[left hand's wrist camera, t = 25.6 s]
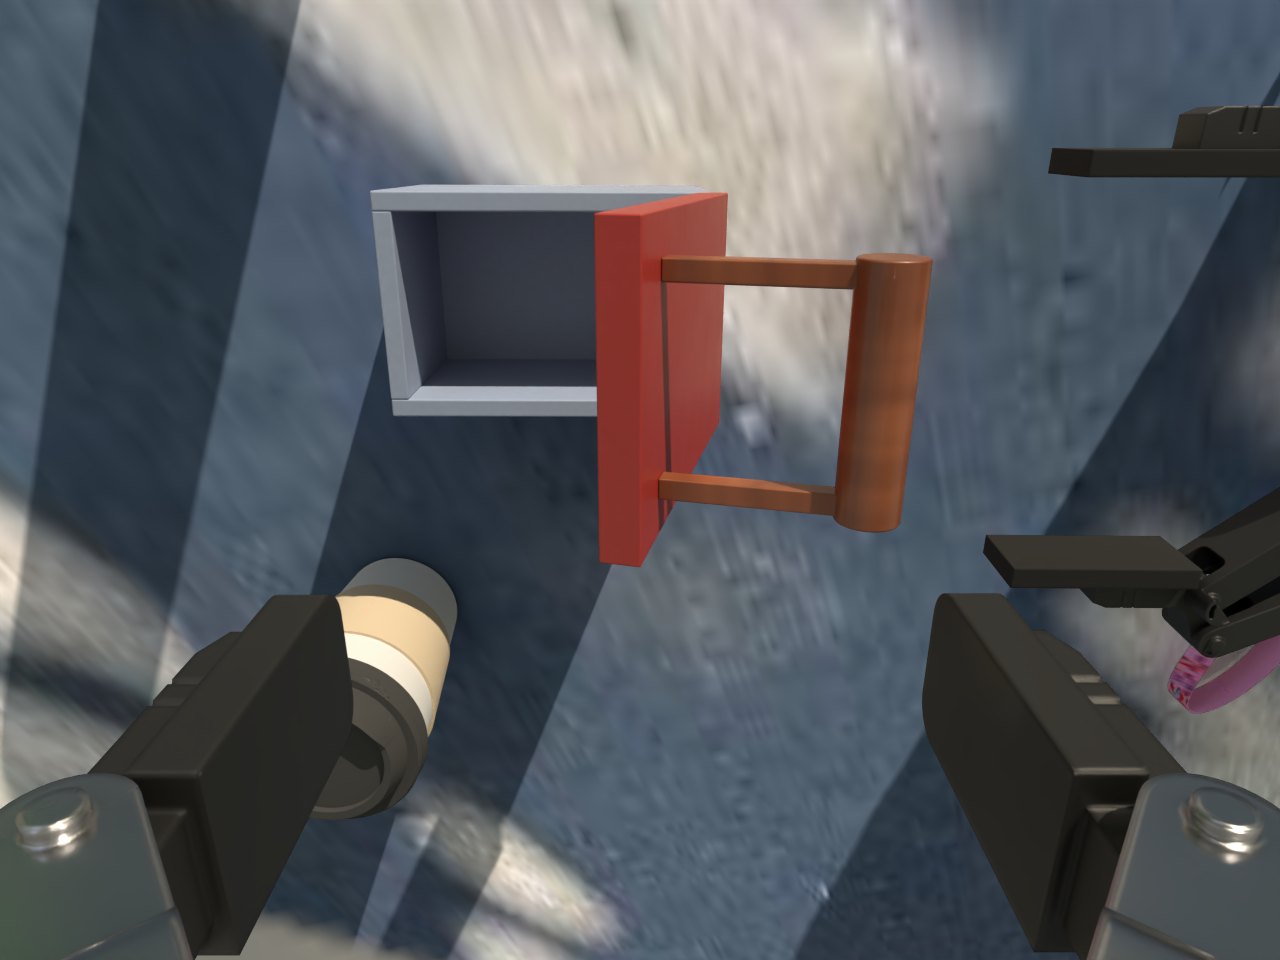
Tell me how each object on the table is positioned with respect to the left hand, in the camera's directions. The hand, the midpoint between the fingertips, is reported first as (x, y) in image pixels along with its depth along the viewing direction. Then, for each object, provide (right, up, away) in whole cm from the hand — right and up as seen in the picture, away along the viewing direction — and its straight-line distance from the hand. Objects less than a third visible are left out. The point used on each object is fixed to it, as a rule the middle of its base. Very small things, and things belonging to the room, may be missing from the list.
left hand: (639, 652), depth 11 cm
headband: (+37, -7, +42) cm, 57 cm away
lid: (+1, +7, +19) cm, 20 cm away
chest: (-4, +13, +34) cm, 37 cm away
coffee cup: (-15, -5, +41) cm, 44 cm away
